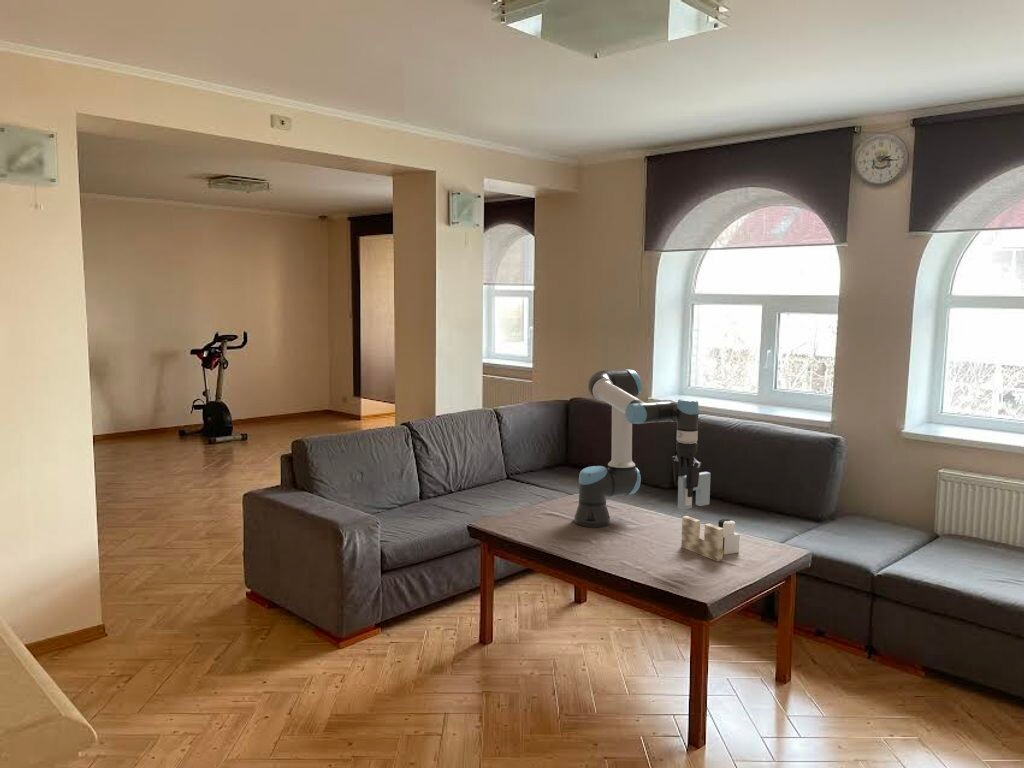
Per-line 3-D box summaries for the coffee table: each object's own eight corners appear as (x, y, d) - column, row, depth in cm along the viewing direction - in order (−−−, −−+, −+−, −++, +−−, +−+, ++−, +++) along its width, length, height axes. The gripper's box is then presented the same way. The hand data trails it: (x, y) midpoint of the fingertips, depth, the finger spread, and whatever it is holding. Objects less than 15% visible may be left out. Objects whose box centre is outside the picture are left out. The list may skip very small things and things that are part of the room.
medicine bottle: (712, 548, 283) (713, 518, 282) (727, 546, 286) (728, 516, 284) (723, 555, 277) (724, 524, 275) (739, 552, 279) (740, 522, 278)
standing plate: (681, 546, 285) (682, 516, 284) (685, 545, 287) (686, 515, 285) (717, 561, 270) (719, 529, 269) (722, 560, 272) (723, 528, 270)
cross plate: (682, 509, 271) (683, 477, 269) (677, 508, 273) (678, 476, 271) (709, 504, 278) (710, 473, 277) (704, 502, 280) (705, 471, 279)
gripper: (664, 438, 275) (662, 500, 277) (695, 446, 261) (693, 510, 264) (679, 436, 278) (677, 497, 281) (710, 444, 265) (707, 507, 268)
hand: (684, 504), depth 273 cm, fingers closed on cross plate, 2 cm apart
